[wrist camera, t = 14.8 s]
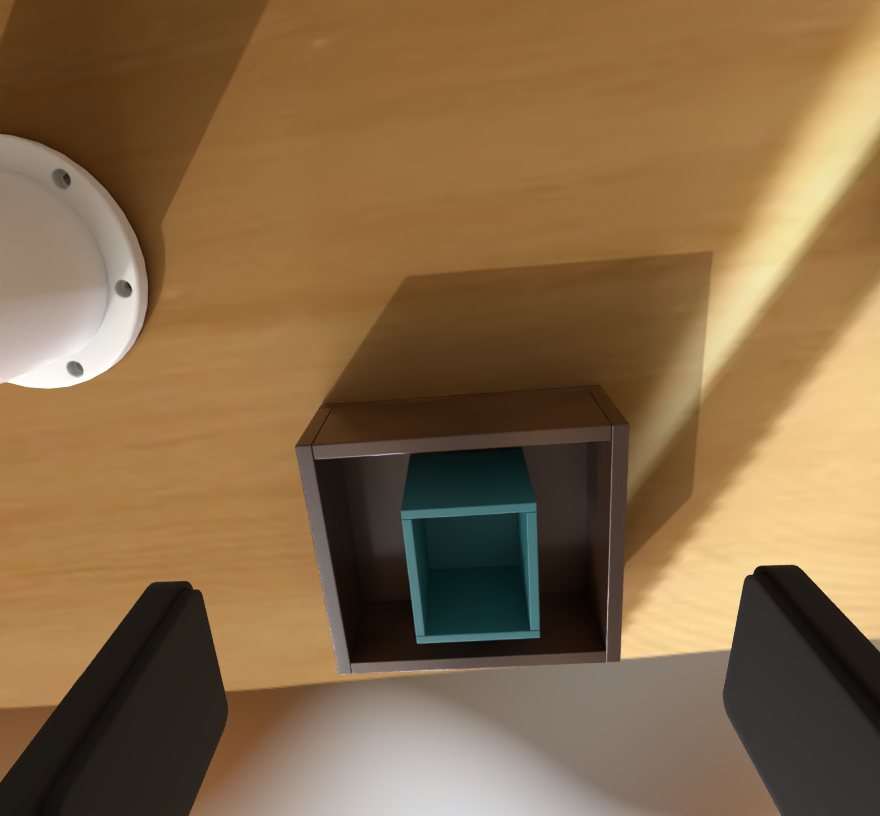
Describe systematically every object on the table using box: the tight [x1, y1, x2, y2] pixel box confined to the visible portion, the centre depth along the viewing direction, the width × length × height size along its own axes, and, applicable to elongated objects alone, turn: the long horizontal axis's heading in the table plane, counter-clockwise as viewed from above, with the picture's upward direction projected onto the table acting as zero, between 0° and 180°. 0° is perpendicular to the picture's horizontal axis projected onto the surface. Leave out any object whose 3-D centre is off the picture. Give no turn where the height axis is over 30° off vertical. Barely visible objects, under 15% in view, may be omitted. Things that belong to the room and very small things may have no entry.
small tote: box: [401, 449, 540, 643], centre depth 31 cm, size 8×6×6 cm
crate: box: [295, 386, 629, 674], centre depth 31 cm, size 16×14×6 cm
